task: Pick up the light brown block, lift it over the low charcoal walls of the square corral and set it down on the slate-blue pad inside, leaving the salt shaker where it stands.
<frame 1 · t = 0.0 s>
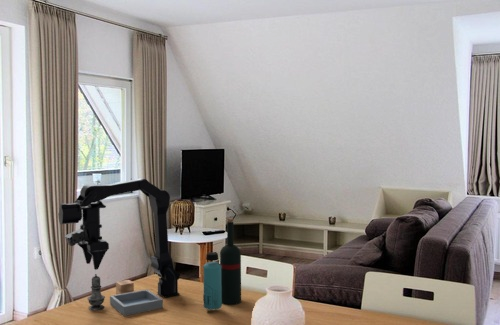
hand: (92, 266, 182), 15 cm above the table, tool pointing down, fingers open, 9 cm apart
light brown block: (125, 295, 197), on the table
beverage bottle: (212, 311, 180), on the table
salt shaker: (96, 308, 183), on the table
low wall corral: (136, 306, 185), on the table
wine bottle: (231, 301, 191), on the table
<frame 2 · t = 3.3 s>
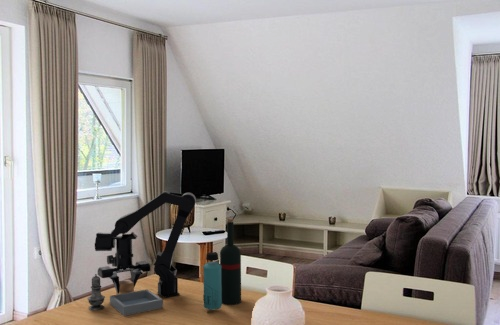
hand: (124, 291, 197), 1 cm above the table, tool pointing down, fingers closed on light brown block, 5 cm apart
light brown block: (125, 295, 197), on the table, touching gripper
everything else where it was.
when the fingers open (3 cm above the table, at t = 9.9 s): light brown block drops 1 cm, resting on low wall corral.
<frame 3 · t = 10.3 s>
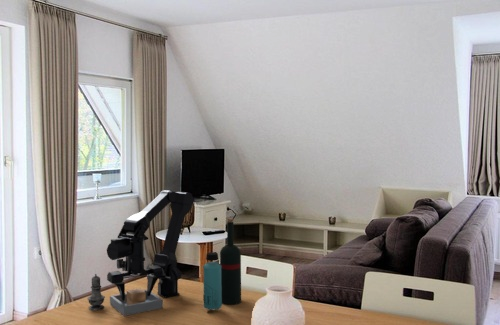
hand: (136, 298, 185), 3 cm above the table, tool pointing down, fingers open, 9 cm apart
light brown block: (136, 305, 185), resting on low wall corral
everything else where it was.
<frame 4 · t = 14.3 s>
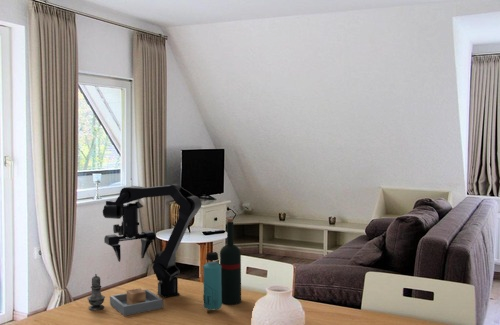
hand: (131, 259, 202), 12 cm above the table, tool pointing down, fingers open, 9 cm apart
nothing on the table moved.
at the end: light brown block inside the target area on the low wall corral (0.0 cm from its centre), point 0.3 cm above the low wall corral's base; light brown block tilted 0°; the gripper is holding nothing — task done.
